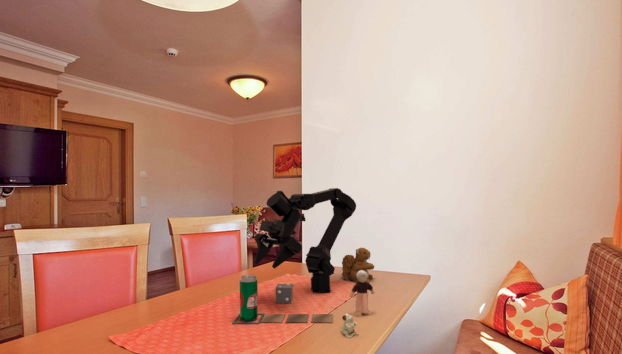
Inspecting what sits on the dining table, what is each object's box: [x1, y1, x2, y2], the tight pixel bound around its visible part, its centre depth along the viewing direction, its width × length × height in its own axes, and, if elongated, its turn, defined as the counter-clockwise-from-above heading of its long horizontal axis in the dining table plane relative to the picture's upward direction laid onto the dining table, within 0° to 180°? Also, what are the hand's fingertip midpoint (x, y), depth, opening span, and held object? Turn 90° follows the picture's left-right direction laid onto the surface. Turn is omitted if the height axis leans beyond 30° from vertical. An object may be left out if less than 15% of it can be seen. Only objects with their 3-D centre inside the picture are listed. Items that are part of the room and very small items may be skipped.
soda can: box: [239, 274, 259, 322], centre depth 96 cm, size 5×5×12 cm
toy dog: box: [339, 313, 359, 339], centre depth 84 cm, size 4×5×5 cm
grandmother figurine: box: [349, 270, 375, 317], centre depth 98 cm, size 8×4×13 cm, turn 117°
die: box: [275, 283, 294, 305], centre depth 111 cm, size 5×5×5 cm
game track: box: [231, 312, 334, 325], centre depth 95 cm, size 28×8×1 cm, turn 87°
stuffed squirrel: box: [341, 247, 375, 284], centre depth 137 cm, size 10×14×13 cm
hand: (264, 265), depth 105 cm, fingers open, 9 cm apart
